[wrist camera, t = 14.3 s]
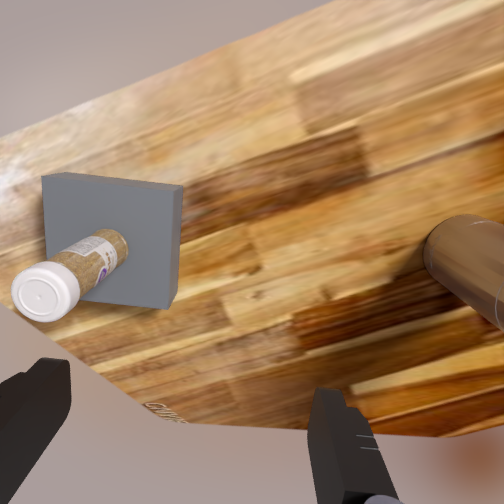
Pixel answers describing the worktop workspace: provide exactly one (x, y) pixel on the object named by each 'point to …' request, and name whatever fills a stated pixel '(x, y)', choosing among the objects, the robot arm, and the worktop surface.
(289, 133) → the worktop surface
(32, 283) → the spice jar
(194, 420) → the worktop surface
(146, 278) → the grey block
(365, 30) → the worktop surface
